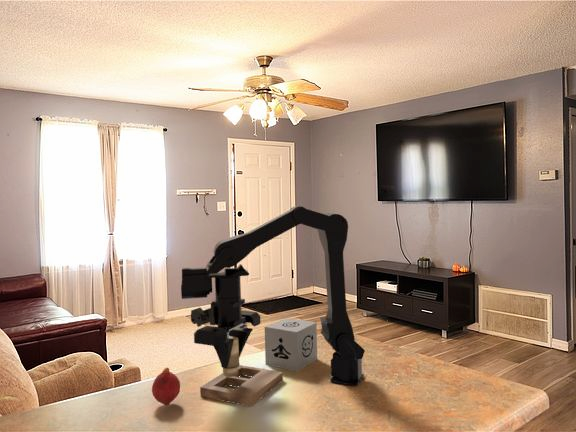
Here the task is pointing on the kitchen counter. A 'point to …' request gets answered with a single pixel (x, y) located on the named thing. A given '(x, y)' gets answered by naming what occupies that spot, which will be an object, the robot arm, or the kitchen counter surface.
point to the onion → (166, 387)
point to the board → (242, 385)
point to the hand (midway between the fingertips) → (230, 364)
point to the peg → (233, 360)
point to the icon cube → (291, 343)
